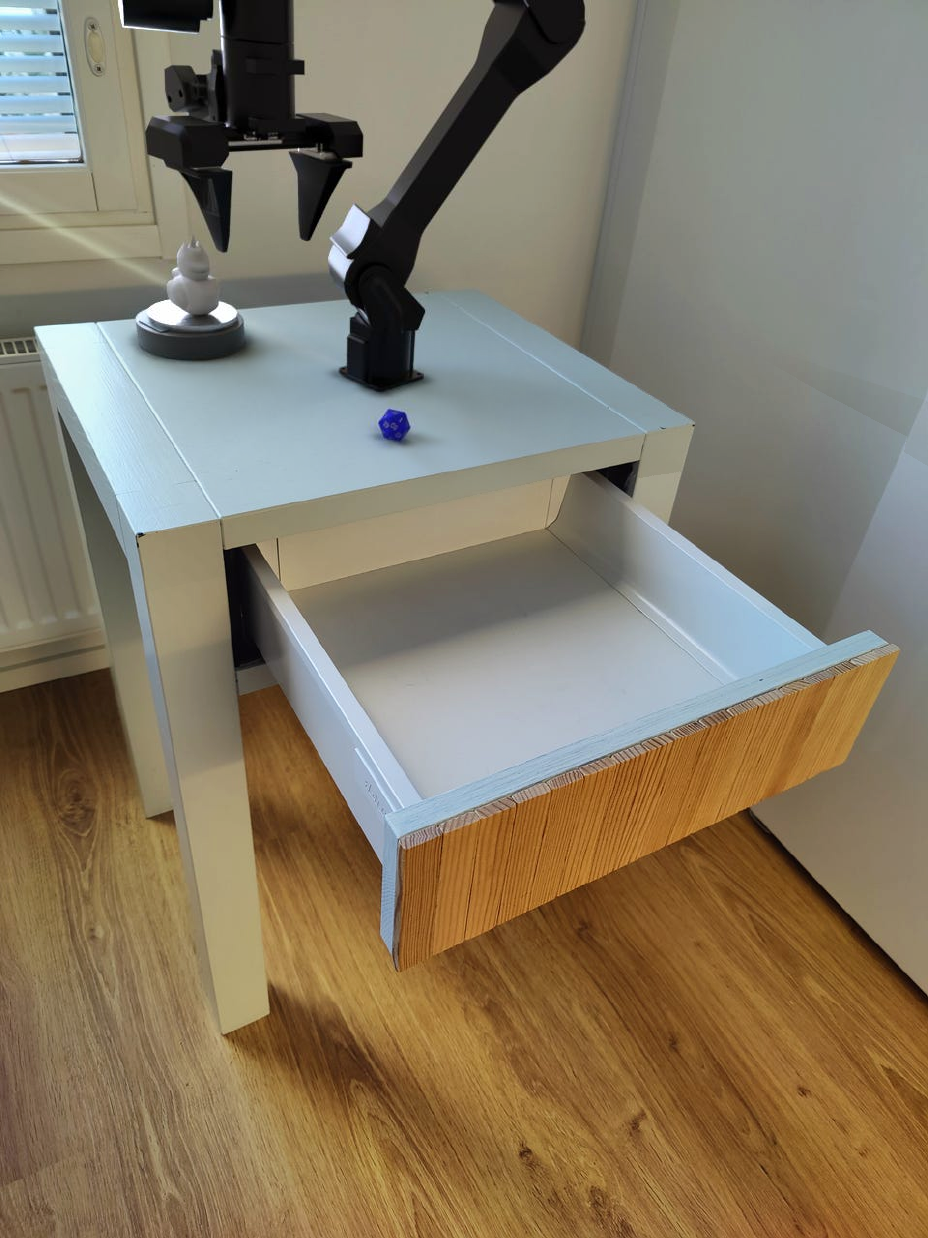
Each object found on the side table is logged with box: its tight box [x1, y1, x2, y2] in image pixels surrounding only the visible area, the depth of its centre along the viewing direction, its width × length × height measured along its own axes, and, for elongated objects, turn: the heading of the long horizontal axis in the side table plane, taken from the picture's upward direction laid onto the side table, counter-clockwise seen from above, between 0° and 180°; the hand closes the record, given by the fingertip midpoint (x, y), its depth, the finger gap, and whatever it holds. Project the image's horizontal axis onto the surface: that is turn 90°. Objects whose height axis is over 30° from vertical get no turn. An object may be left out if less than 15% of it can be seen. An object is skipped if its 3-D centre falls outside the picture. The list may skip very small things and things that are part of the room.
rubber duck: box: [166, 233, 222, 315], centre depth 89 cm, size 5×7×8 cm
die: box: [377, 408, 411, 442], centre depth 78 cm, size 3×3×3 cm
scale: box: [135, 299, 246, 361], centre depth 92 cm, size 11×11×3 cm
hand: (265, 245), depth 78 cm, fingers open, 9 cm apart
